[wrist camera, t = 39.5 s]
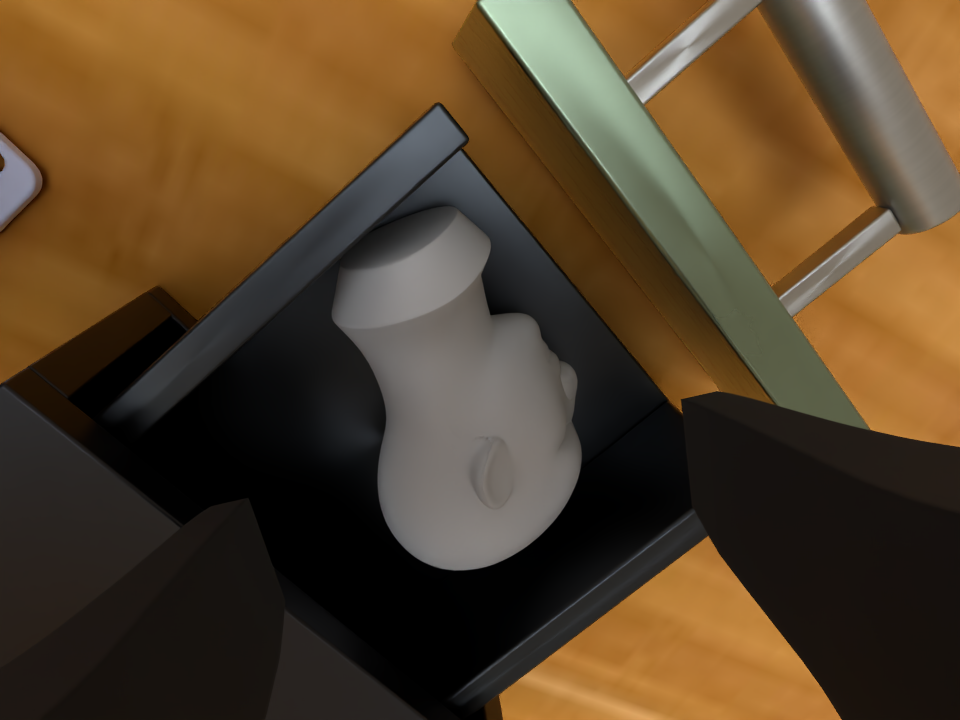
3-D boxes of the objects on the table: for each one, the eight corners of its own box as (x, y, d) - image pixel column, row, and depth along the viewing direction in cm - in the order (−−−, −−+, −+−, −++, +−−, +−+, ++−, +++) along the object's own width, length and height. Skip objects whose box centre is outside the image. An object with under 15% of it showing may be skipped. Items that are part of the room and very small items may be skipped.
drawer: (658, -152, 14) (795, -301, 9) (899, 249, 18) (1091, 294, 13) (50, 417, 17) (-96, 536, 12) (367, 670, 20) (357, 843, 15)
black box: (158, 283, 17) (1, 382, 10) (480, 581, 21) (517, 792, 14) (-227, 646, 19) (-566, 925, 12) (132, 856, 23) (23, 1153, 16)
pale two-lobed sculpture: (549, 468, 19) (376, 538, 17) (502, 179, 16) (290, 231, 14) (644, 545, 15) (435, 644, 14) (605, 187, 12) (334, 256, 11)
